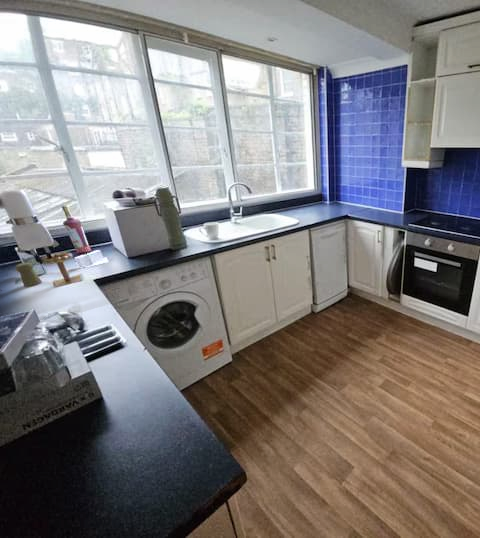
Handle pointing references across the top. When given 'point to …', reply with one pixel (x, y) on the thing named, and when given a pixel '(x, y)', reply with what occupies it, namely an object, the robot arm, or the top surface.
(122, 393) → the top surface
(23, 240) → the robot arm
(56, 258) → the brass hoop
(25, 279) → the cork
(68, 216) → the liquor
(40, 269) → the syrup box
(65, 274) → the stand
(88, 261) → the napkin holder
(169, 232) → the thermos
